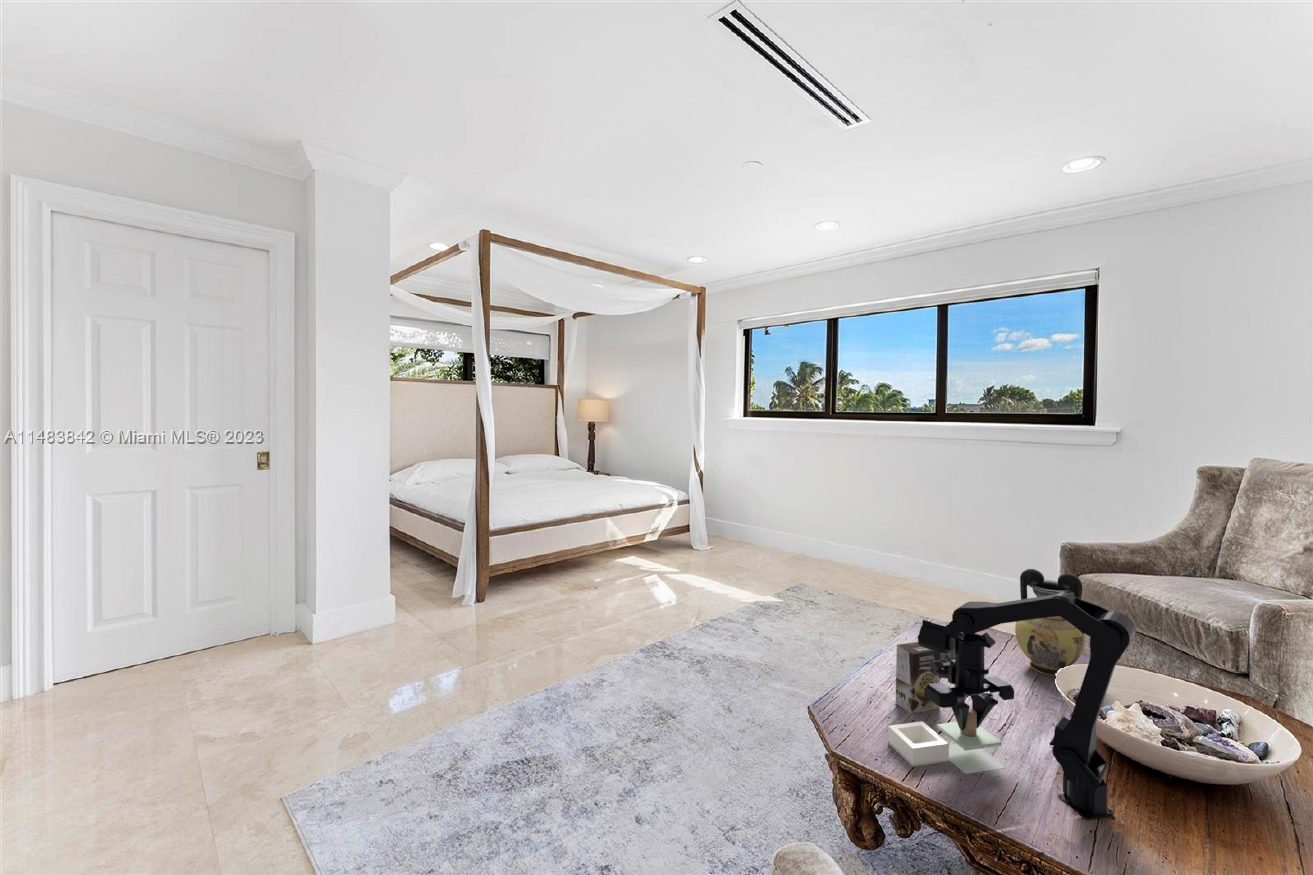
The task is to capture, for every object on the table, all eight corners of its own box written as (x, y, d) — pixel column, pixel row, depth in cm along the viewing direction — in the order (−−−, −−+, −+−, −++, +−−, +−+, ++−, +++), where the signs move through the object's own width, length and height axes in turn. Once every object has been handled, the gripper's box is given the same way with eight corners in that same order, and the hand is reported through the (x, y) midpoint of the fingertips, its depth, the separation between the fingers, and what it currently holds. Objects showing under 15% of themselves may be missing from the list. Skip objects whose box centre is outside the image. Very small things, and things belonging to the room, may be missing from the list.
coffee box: (911, 715, 144) (912, 654, 144) (894, 703, 151) (895, 643, 150) (941, 710, 147) (941, 649, 146) (923, 698, 153) (923, 639, 152)
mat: (1005, 769, 123) (1005, 767, 122) (965, 775, 121) (965, 773, 121) (971, 742, 132) (971, 741, 132) (934, 748, 130) (934, 746, 130)
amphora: (1015, 675, 165) (1017, 574, 164) (1011, 653, 180) (1013, 560, 178) (1090, 689, 156) (1092, 582, 155) (1080, 664, 171) (1082, 567, 170)
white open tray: (948, 763, 125) (949, 743, 125) (912, 768, 123) (912, 748, 123) (922, 739, 134) (922, 721, 134) (888, 744, 132) (888, 725, 132)
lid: (1001, 745, 123) (1001, 719, 123) (965, 750, 121) (965, 724, 121) (971, 723, 132) (971, 698, 131) (936, 727, 130) (937, 703, 130)
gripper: (978, 641, 135) (977, 705, 136) (909, 649, 132) (908, 714, 132) (1016, 662, 124) (1015, 731, 125) (941, 670, 121) (941, 741, 121)
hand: (968, 728), depth 126 cm, fingers closed on lid, 3 cm apart
